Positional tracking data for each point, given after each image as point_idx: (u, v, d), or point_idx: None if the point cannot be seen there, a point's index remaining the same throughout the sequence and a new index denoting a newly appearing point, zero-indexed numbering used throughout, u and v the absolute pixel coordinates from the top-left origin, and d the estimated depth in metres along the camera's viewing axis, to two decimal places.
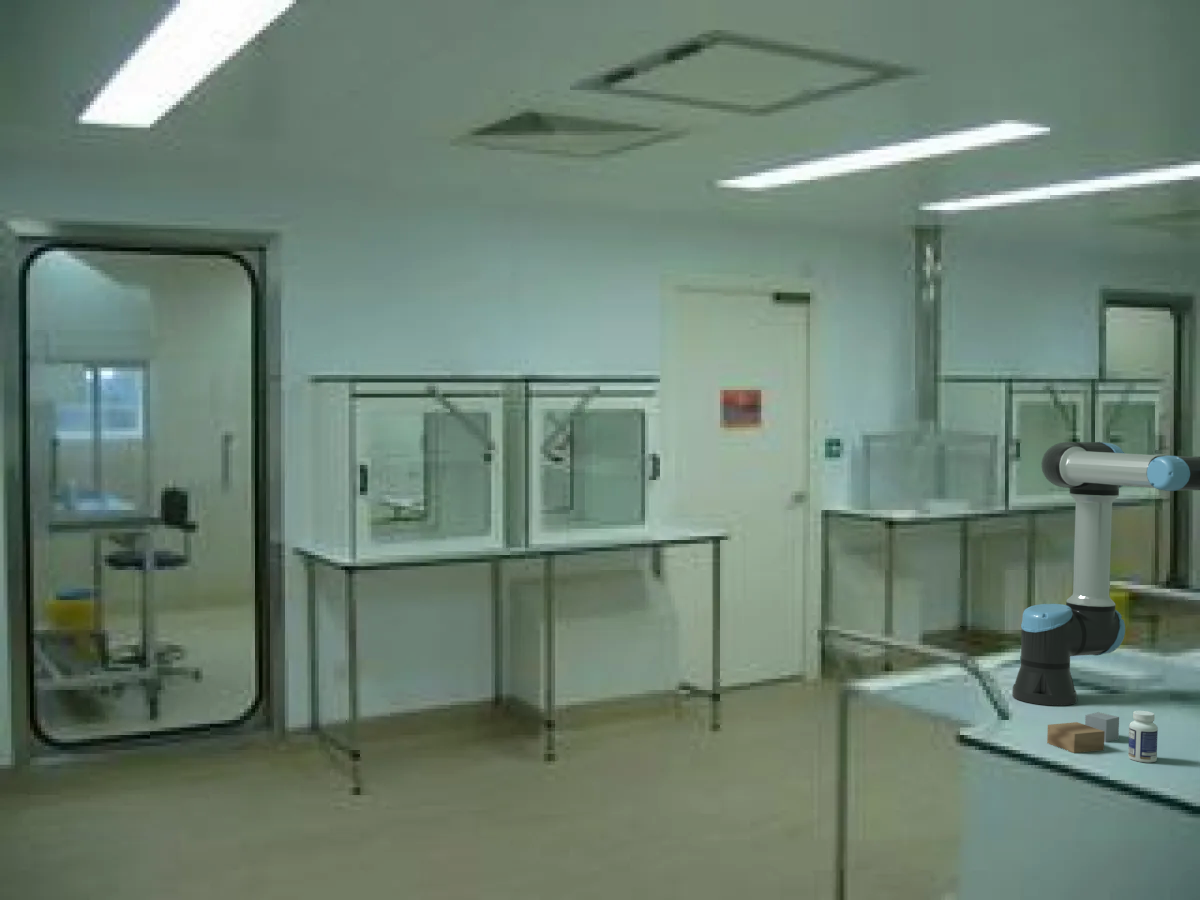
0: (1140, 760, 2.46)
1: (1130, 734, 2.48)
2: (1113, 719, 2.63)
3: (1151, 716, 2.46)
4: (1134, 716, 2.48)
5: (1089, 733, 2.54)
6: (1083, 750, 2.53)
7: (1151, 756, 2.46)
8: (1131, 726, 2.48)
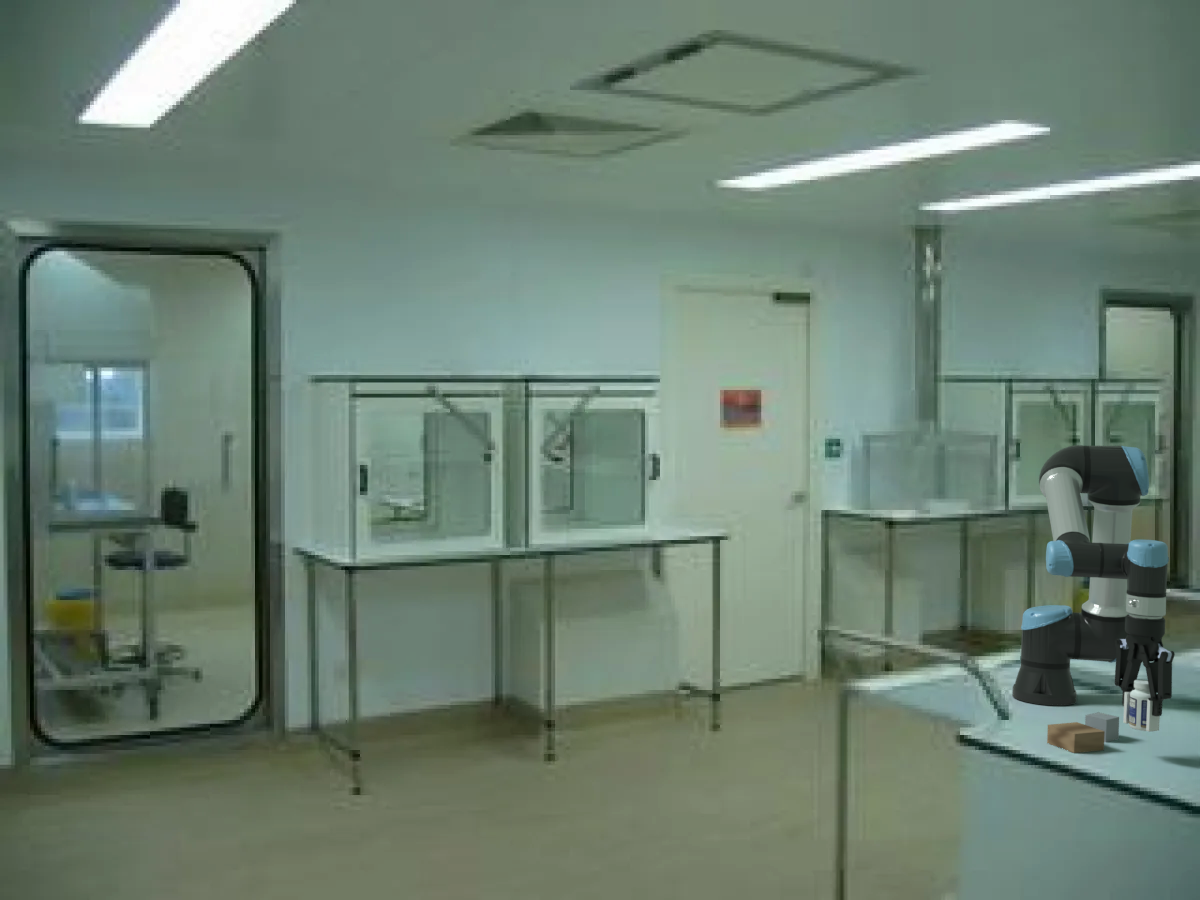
0: (1141, 729, 2.47)
1: (1131, 703, 2.49)
2: (1113, 719, 2.63)
3: None
4: (1135, 685, 2.48)
5: (1089, 733, 2.54)
6: (1083, 750, 2.53)
7: None
8: (1132, 695, 2.48)
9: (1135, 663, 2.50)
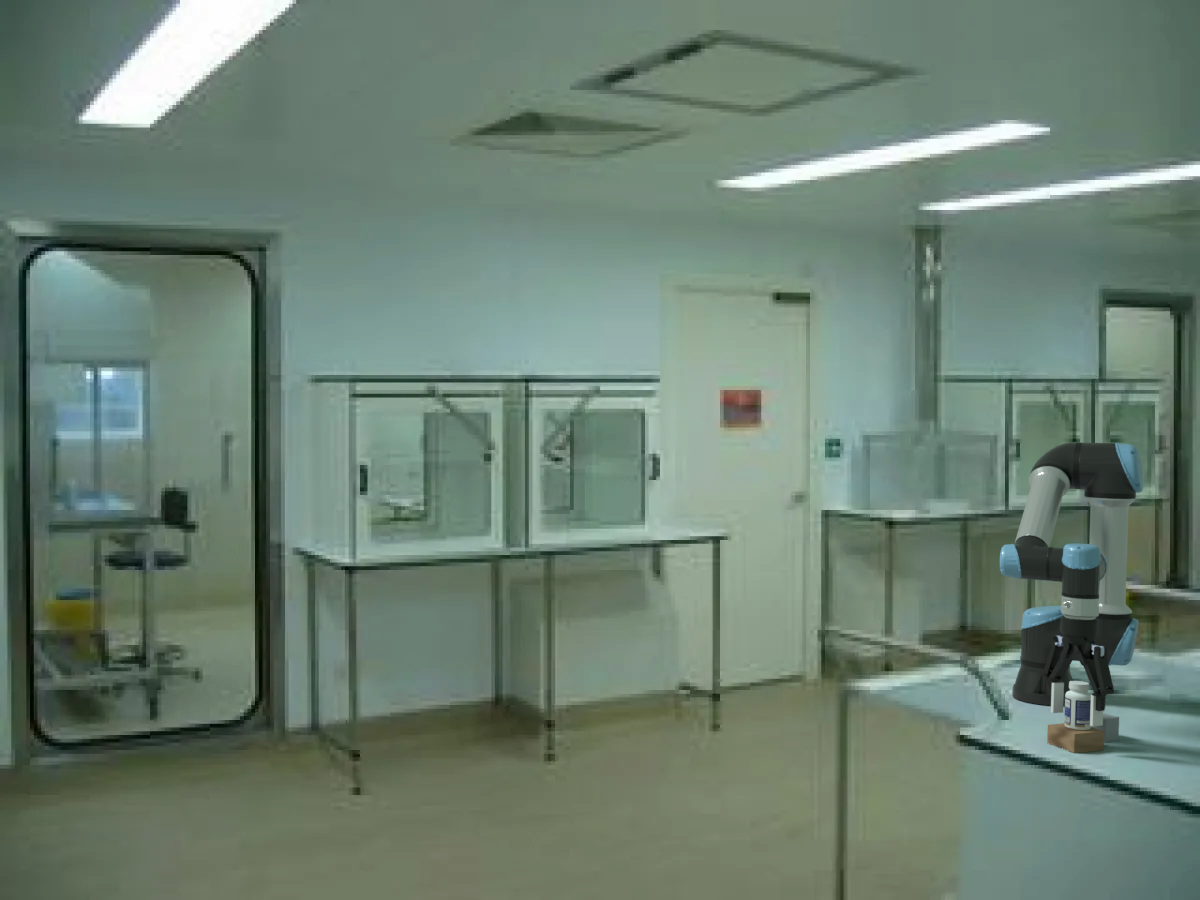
0: (1075, 728, 2.55)
1: (1066, 703, 2.57)
2: (1113, 719, 2.63)
3: (1086, 685, 2.55)
4: (1070, 686, 2.57)
5: (1089, 733, 2.54)
6: (1083, 750, 2.53)
7: (1085, 724, 2.55)
8: (1067, 695, 2.57)
9: (1066, 660, 2.60)
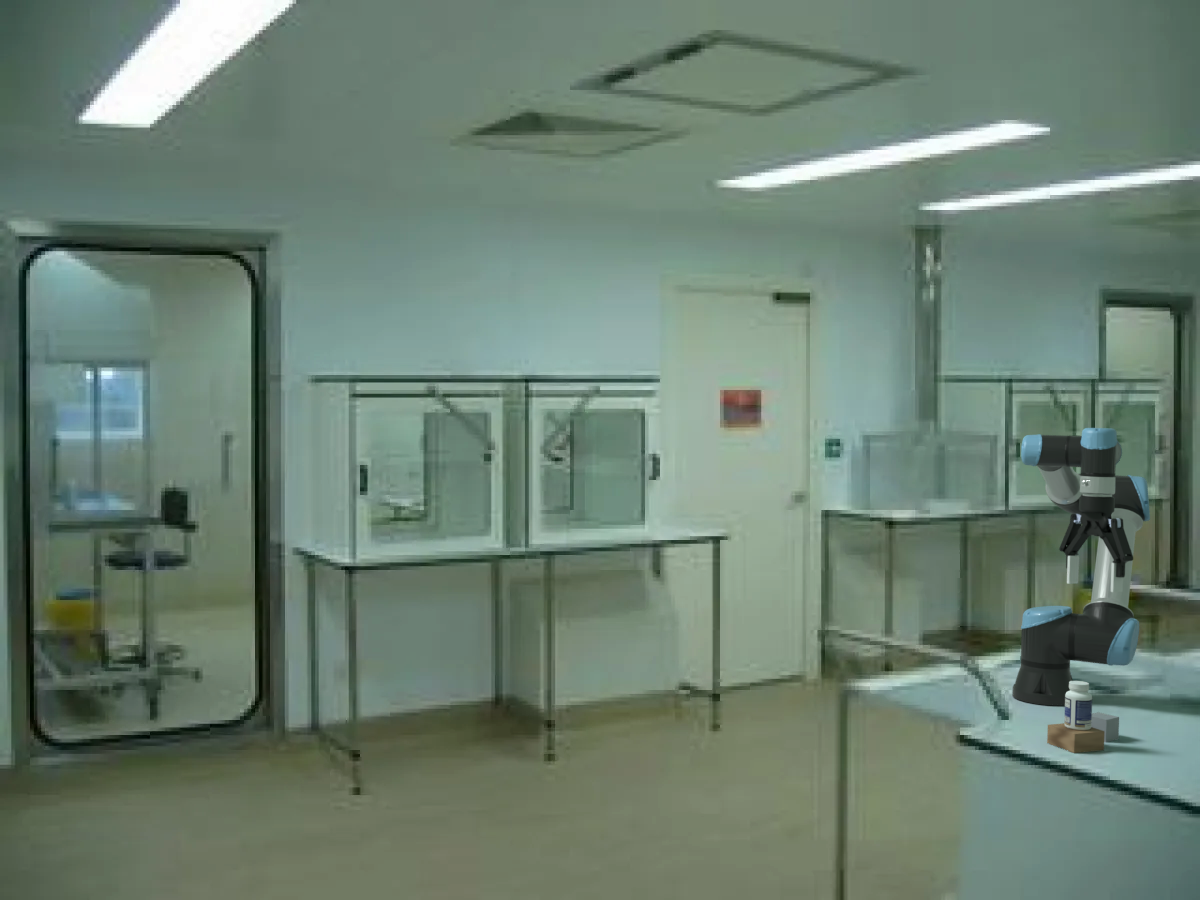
0: (1075, 728, 2.55)
1: (1066, 703, 2.57)
2: (1113, 719, 2.63)
3: (1086, 685, 2.55)
4: (1070, 686, 2.57)
5: (1089, 733, 2.54)
6: (1083, 750, 2.53)
7: (1085, 724, 2.55)
8: (1067, 695, 2.57)
9: (1083, 536, 2.78)
